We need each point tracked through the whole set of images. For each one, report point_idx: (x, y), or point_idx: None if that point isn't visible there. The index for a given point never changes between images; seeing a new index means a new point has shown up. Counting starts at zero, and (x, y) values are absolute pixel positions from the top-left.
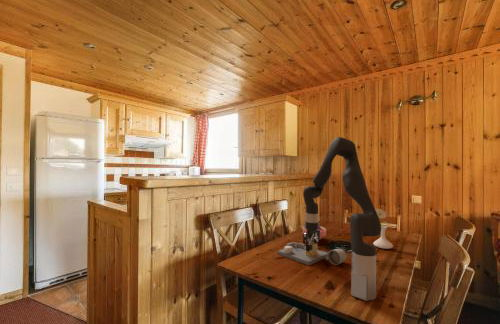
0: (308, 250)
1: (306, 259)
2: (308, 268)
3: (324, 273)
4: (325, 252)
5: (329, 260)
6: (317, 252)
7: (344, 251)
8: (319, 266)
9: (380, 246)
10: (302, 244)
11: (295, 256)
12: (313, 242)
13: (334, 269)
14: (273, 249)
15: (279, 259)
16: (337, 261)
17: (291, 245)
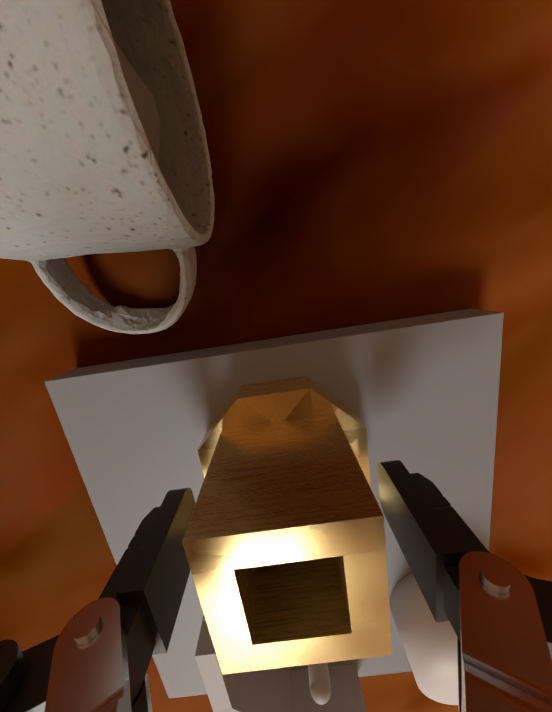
0: (404, 474)
1: (461, 377)
2: (541, 254)
3: (536, 26)
4: (68, 415)
5: (211, 218)
6: (226, 421)
7: None
8: (398, 223)
9: None
10: (217, 667)
11: (477, 497)
12: (208, 620)
13: (326, 38)
14: (401, 697)
15: (548, 544)
16: (152, 97)
17: (297, 695)
